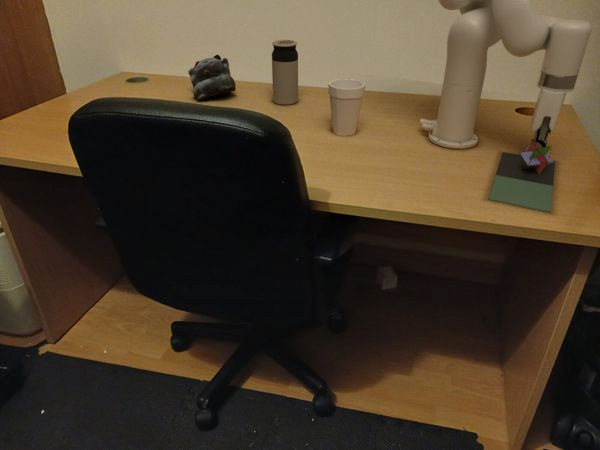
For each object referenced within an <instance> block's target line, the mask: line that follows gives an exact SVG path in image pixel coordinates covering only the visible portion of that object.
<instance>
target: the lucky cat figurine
mask: <svg viewBox="0 0 600 450" xmlns="http://www.w3.org/2000/svg"><path fill="white" fill-rule="evenodd" d="M187 73H188V75H189V78H190V83H191V84H192V87H193V90H192V94H193V98H194V99H195V100H197V101H201V100H203V99H207V98H209V97H213V96H217V95H222V94H231V93H232V92H236V90H237V88H236V81H235V79H234V78H233V77H232V75H231V69H230V63H229V60H228V58H227V57H223V58H222V57H221V56H220V55H219V54H216V55H213V57H206V58H203V59H202V60H197V61H196V62H195V64H194V65H193V67H190V69H188V70H187Z"/></svg>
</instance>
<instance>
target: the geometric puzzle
mask: <svg viewBox="0 0 600 450" xmlns="http://www.w3.org/2000/svg"><path fill="white" fill-rule="evenodd" d="M531 142H532V141H531ZM531 142H530V143H529V144H528V145H527V146H526V147H525V148H523V150H524V151H520V152H518V155H521V156H522V158H523V159H524V161H525V162H526V163H525V165H524V166H523V165H522V167H523V168H522V169H524V168H531V169H532V167H535V169H536V170H537V172H538V173H539V175H540V173H541V172H542V171H543V169H544V168H545V167H546V165H547V164H548V163H550V164H551V163H554V162H553V161H554V160H553V158H552V157H551V155H550V154H552V151H551V149H553V145H549V146H547V144H545V145H546V147H542V146H541V144H540V143H538V142H536V141H533V142H532V143H531ZM525 149H526V150H525ZM549 151H550V153H549ZM548 153H549V154H548ZM524 161H523V162H524ZM550 166H551V165H550ZM524 170H525V169H524ZM545 170H546V169H545ZM527 171H528V170H527ZM530 172H531V171H530ZM535 172H536V171H535ZM537 172H536V173H537Z"/></svg>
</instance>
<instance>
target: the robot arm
mask: <svg viewBox="0 0 600 450" xmlns="http://www.w3.org/2000/svg"><path fill="white" fill-rule="evenodd" d="M437 2H438V3H439V5H440V6H441V7H442V8H443V9H445V10H448V11H457V10H459V12H460V15H459V16H458V17H456V18H455V20H454V21H453V23H452V24H451V26H450V27H449V30H448V33H447V39H446V40H447V41H446V61H445V68H444V73H443V74H444V75H443V82H442V88H441V93H440V99H439V100H440V101H439V107H438V113H437V117H436V119H432V120H430V119H427V118H420V120H419V127H421V129H423V130H428V131H429V130H430V131H429V132H428V139H429V141H430V142H431V143H433V144H435V145H437V146H440V147H442V148H448V149H456V150H457V149H458V150H461V149H462V150H463V149H470V148H473V147H475V146H476V145H477V144H478V143H479V142H478V141H479V137H478V135H477V134H475V133H474V130H475V125H476V121H477V117H478V111H479V106H480V101H481V97H482V92H483V88H484V84H485V83H484V82H485V78H486V72H487V63H488V51H489V48H491V47H493V46H494V45H496V44H497V43H499V42H500V41H501V43H502V45H503V47H504V49H505V50H506V51H507V52H508V53H509V54H510V55H512V56H514V57H516V58H517V57H518V58H524V57H528V56H530V55H532V54H534V53H536V52H539V51H542V50H544V51H545V52H544V55H543V56H544V57H543V60H542V64H541V67H540V71H539V75H538V78H537V82H536V87H537V88H540V89H539V91H538V95H537V99H536V103H535V106H534V110H533V114H532V117H531V120H530V126H529V131H530V133H533V132H534V135H533V138H532V139H531V142H530V143H532V142H533V141H536V142H538V143H540V144H541V146H542V147H547V145H548V144H547V143H548V141H547V140H548V137H549V136H551V135H553V134H554V132H555V130H556V129H555V128H556V126H557V124H558V121H559V118H560V115H561V112H562V109H563V107H564V102H565V99H566V96H567V93H568V92H572V91H574V89H575V87H576V83H577V79H578V77H579V73H580V70H581V66H582V63H583V59H584V57H585V53H586V51H587V47H588V44H589V41H590V38H591V34H592V31H593V26H592V24H591V23H590V22H588V21H587V20H583V19H575V18H564V19H563V18H560V17H559V18H558V17H556V16H555V17H554V16H550V15H547V14H543V13H534V11H533V7H532V4H531V0H437ZM545 144H546V145H545Z"/></svg>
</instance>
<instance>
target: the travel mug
mask: <svg viewBox="0 0 600 450" xmlns="http://www.w3.org/2000/svg"><path fill="white" fill-rule="evenodd" d="M271 44H272V47H273V50H272V52H271V70H272V71H271V76H272V79H271V80H272V101H273V103H275V104H278V105H281V106H282V105H283V106H290V105H293V104H296V103H297V102H299V52H298V50H297V46H298V42H297V41H296V40H293V39H278V40H273V41H272V43H271Z"/></svg>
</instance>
